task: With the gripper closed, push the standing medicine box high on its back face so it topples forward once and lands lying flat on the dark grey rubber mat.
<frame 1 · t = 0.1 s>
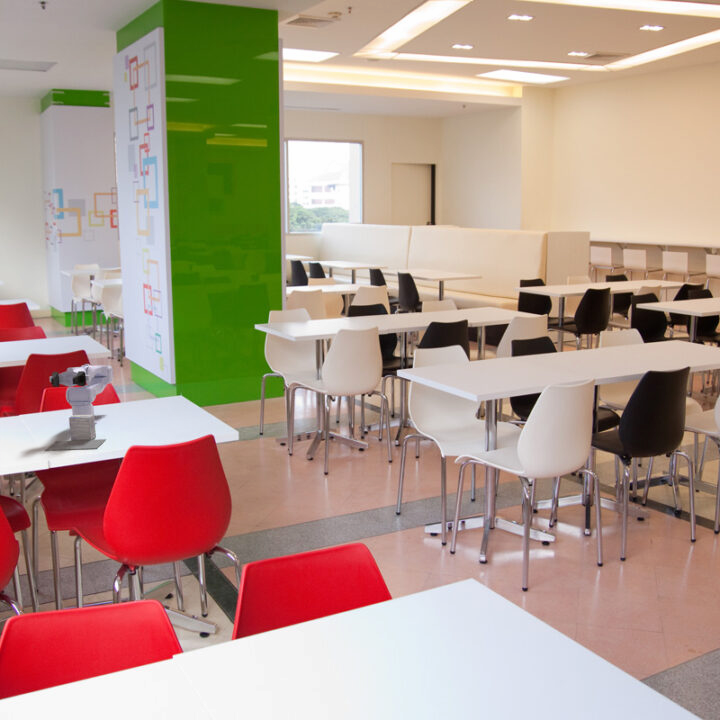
hand: (62, 381, 303), 22 cm above the table, tool horizontal, fingers open, 7 cm apart
medicine box: (83, 439, 306), on the table
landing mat: (76, 445, 297), on the table
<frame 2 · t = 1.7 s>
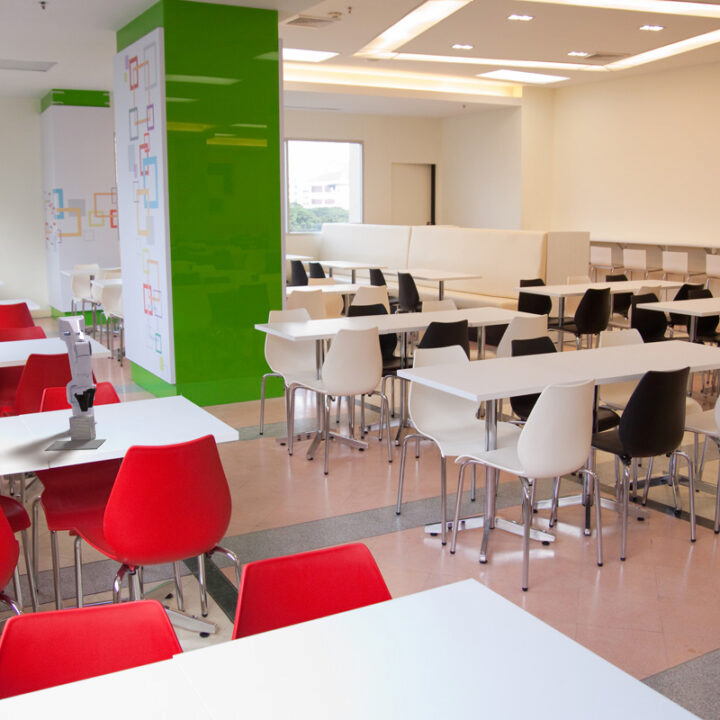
hand: (87, 409, 311), 9 cm above the table, tool pointing down, fingers open, 6 cm apart
nothing on the table moved.
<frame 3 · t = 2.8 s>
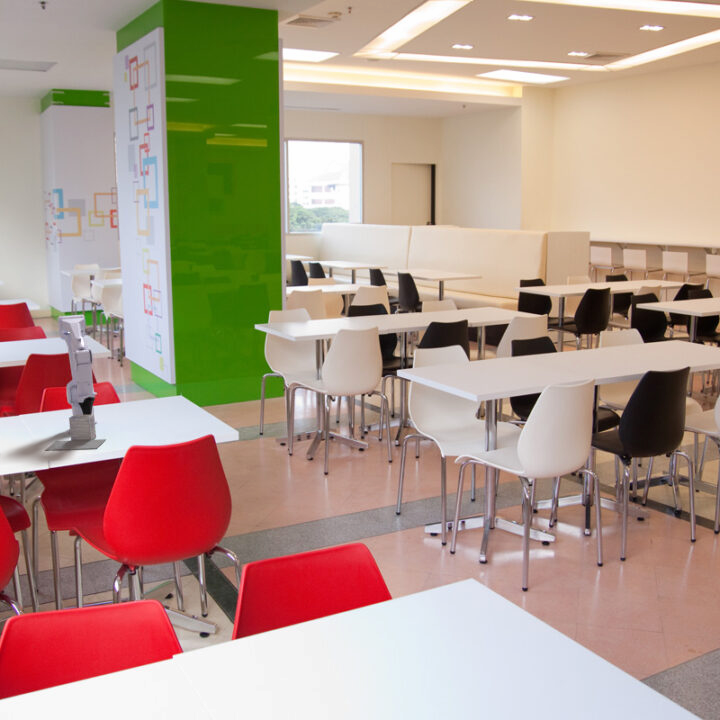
hand: (87, 417, 311), 6 cm above the table, tool pointing down, fingers closed
nothing on the table moved.
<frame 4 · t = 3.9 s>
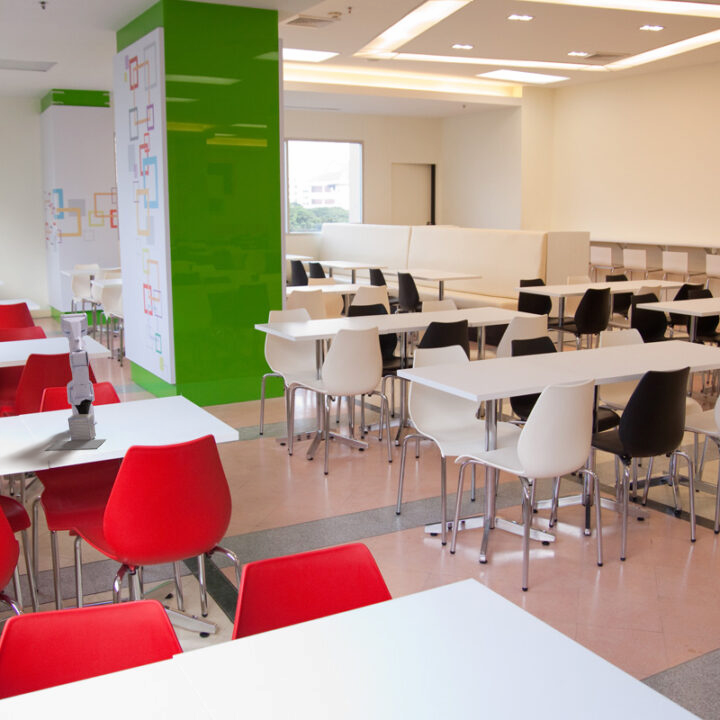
hand: (84, 419, 307), 6 cm above the table, tool pointing down, fingers closed
medicine box: (83, 438, 306), on the table, touching gripper
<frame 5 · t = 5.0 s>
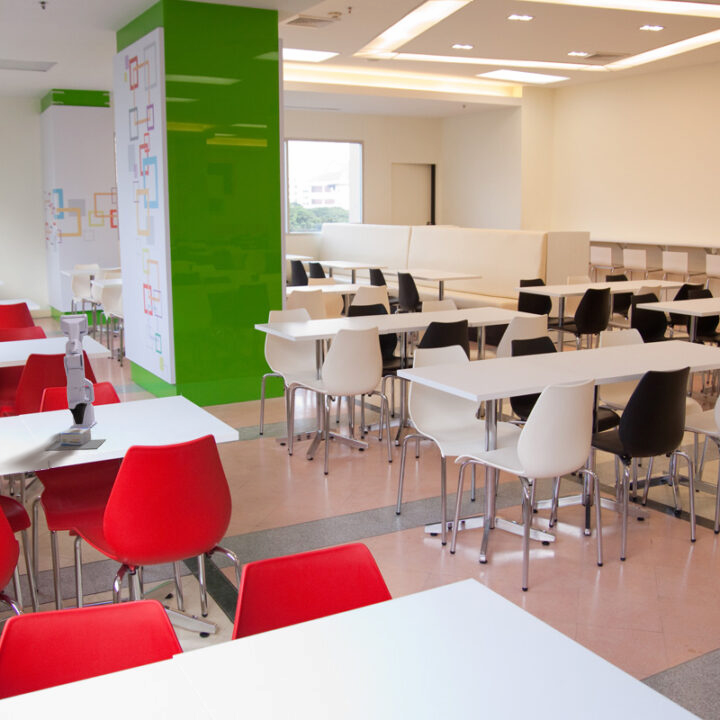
hand: (79, 423, 301), 6 cm above the table, tool pointing down, fingers closed
medicine box: (80, 433, 303), point 2 cm above the table, touching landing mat
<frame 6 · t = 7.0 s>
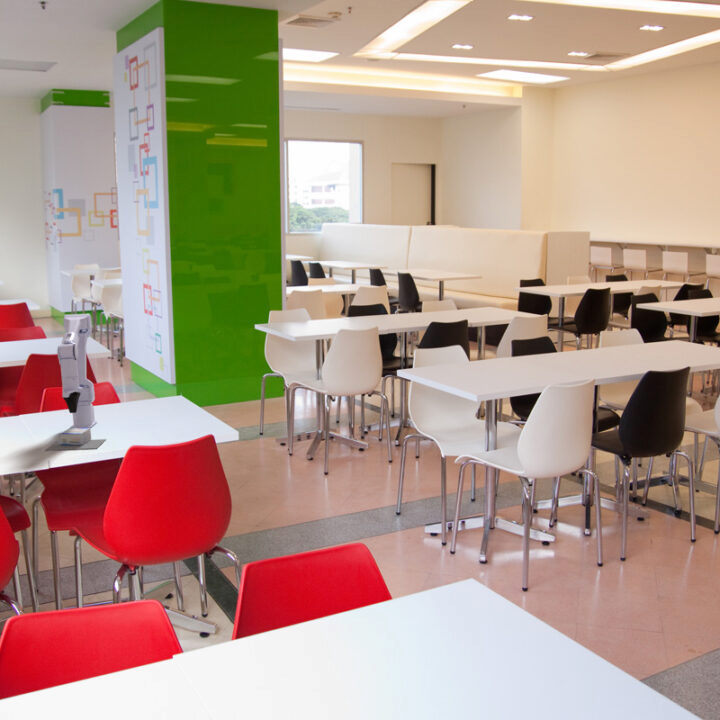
hand: (73, 412, 307), 9 cm above the table, tool pointing down, fingers closed
nothing on the table moved.
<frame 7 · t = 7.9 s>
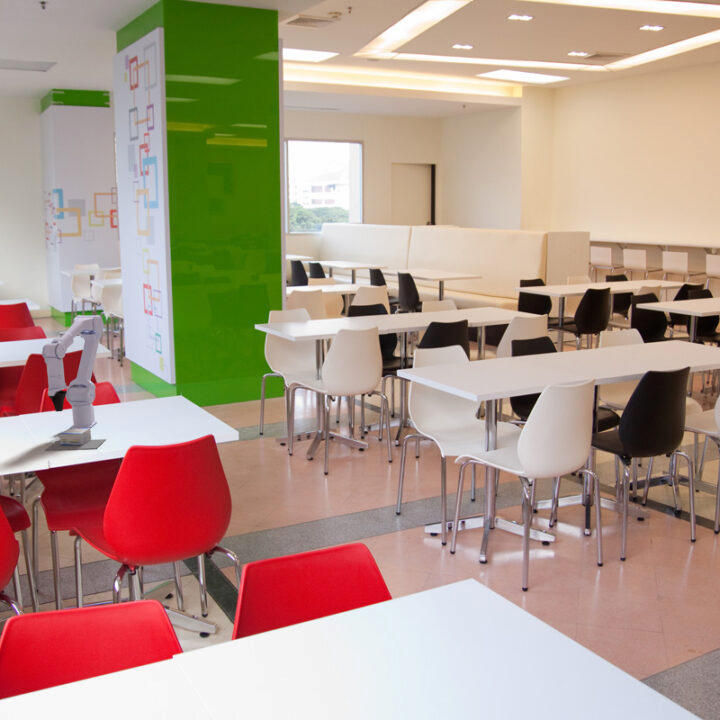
hand: (59, 411, 310), 9 cm above the table, tool pointing down, fingers closed
nothing on the table moved.
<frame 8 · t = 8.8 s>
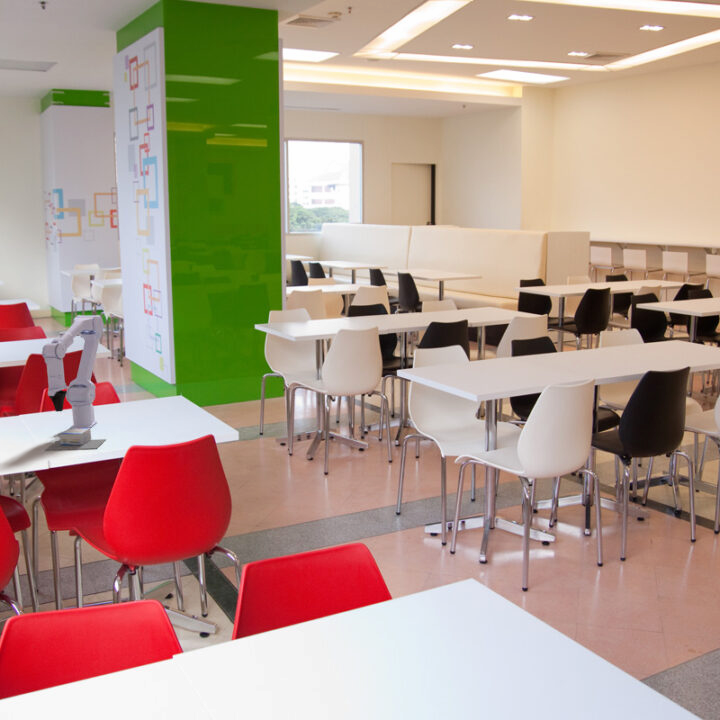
hand: (59, 411, 310), 9 cm above the table, tool pointing down, fingers closed
nothing on the table moved.
at the end: medicine box tilted 89°; medicine box touching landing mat; medicine box inside the target area (5.2 cm from its centre), point 2.5 cm above the table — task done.
